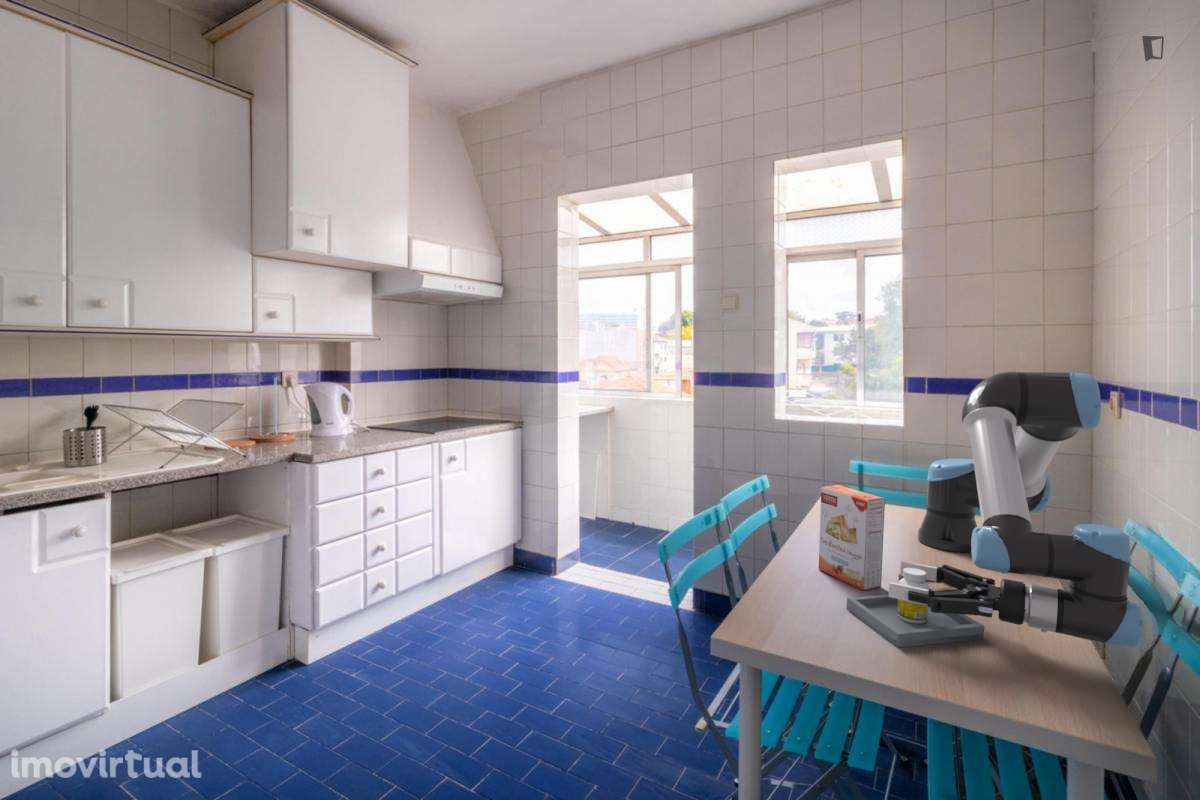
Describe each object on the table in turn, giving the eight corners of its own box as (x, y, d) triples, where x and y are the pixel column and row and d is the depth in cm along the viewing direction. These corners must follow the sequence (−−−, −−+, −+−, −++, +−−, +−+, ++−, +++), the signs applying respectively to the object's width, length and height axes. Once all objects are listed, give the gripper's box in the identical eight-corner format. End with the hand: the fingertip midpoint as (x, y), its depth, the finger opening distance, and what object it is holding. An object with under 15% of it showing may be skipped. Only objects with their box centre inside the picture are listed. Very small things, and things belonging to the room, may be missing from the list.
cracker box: (816, 570, 147) (819, 485, 145) (835, 566, 149) (838, 483, 147) (862, 591, 134) (866, 499, 132) (882, 587, 136) (886, 497, 134)
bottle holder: (936, 577, 142) (936, 571, 142) (969, 594, 132) (969, 587, 132) (898, 580, 140) (899, 573, 140) (929, 597, 131) (929, 591, 130)
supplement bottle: (923, 627, 115) (926, 578, 114) (893, 619, 118) (896, 571, 117) (930, 617, 119) (932, 570, 118) (900, 609, 122) (903, 564, 121)
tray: (923, 602, 128) (924, 591, 128) (983, 638, 112) (984, 626, 112) (846, 609, 125) (846, 597, 125) (897, 647, 109) (898, 634, 109)
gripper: (1025, 653, 98) (883, 619, 110) (1023, 600, 118) (904, 576, 130) (1028, 609, 97) (884, 579, 109) (1026, 563, 118) (905, 542, 130)
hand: (895, 577), depth 120 cm, fingers open, 13 cm apart
